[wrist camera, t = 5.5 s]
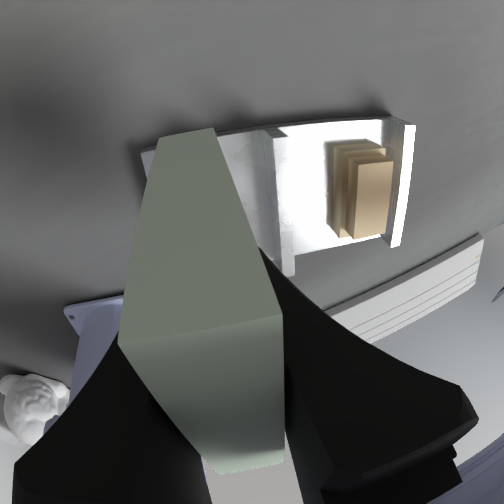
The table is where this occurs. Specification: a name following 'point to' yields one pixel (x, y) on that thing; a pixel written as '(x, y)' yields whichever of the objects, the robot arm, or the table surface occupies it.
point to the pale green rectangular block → (205, 309)
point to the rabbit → (32, 404)
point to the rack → (306, 179)
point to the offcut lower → (341, 180)
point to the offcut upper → (368, 195)
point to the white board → (411, 293)
